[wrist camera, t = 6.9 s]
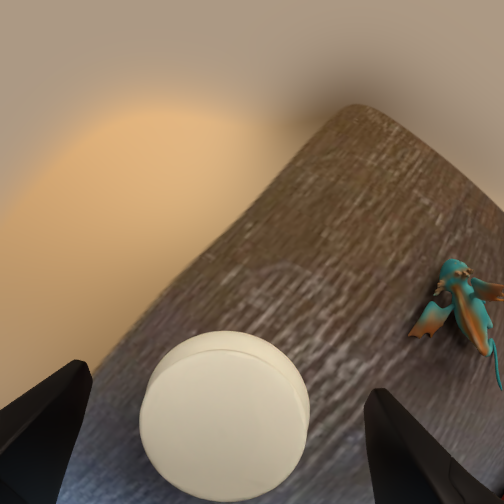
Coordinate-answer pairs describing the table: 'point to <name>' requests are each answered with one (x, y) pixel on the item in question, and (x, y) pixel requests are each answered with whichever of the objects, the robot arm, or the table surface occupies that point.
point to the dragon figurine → (462, 308)
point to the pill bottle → (225, 416)
